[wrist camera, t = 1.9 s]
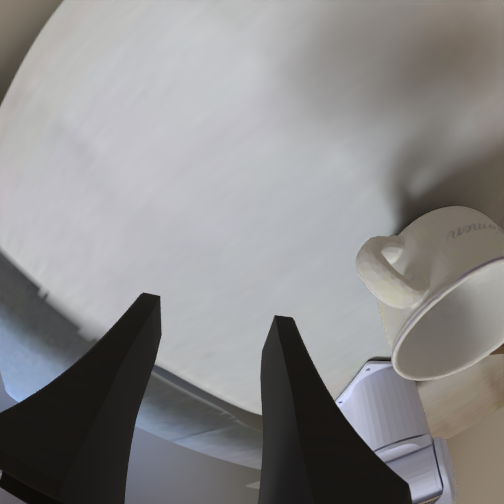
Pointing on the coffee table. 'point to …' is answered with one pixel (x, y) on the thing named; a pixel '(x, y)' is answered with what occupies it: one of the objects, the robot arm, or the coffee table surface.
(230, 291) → the coffee table surface
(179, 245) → the coffee table surface
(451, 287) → the teacup
